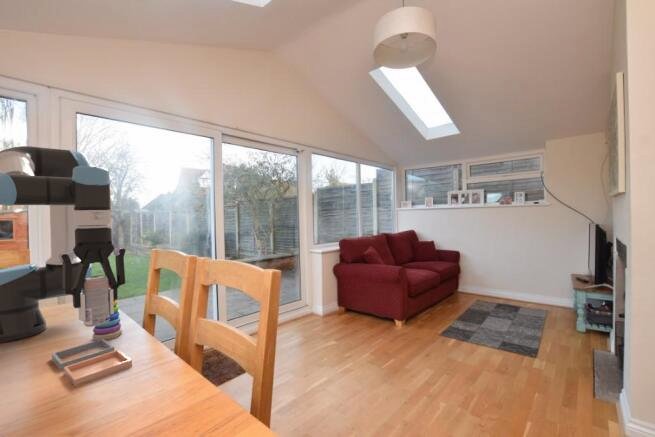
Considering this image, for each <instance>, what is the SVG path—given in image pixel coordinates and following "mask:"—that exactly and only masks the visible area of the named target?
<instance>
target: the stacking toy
mask: <svg viewBox="0 0 655 437" xmlns="http://www.w3.org/2000/svg"><path fill="white" fill-rule="evenodd" d="M108 284H109V283H108ZM109 288H110V286H109ZM119 309H120V308H119V306H118V300H114V314H110V320H109V321H108V322H107V323H105V324H102V325H99V326H93V328H92V332H93V334H92V339H93V340H94V341H96V340H100V339H104V340H105V341H107V340H111V339H114V338H115V339H116V338H117V337H119V336H121V335H122V333H123V330H122V328H121V327H122V324H121V323H120V322H121V318H120V312H119Z"/></svg>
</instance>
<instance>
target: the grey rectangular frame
mask: <svg viewBox="0 0 655 437" xmlns="http://www.w3.org/2000/svg"><path fill="white" fill-rule="evenodd" d="M101 346H102V347H103V348H104V349H102V350H101V349H100V350H98V351H94V352H91V353H87V354H86V355H81V356H78V357H75V358H72V359H69V360H66V361H63V360H61V359H62V358H65V357H68V356H71V355H75V354H79V353H81V352H84V351H88V350H91V349H95V348H98V347H101ZM112 351H115V346H113V344H111V343H110V342H109V341H107V340H104V339H100V340H94V341H90V342H87V343H82V344H79V345H76V346H73V347H69V348H66V349H62V350H58V351H55V352H52V353H51V361H53V363H54V365H55V366H57V368H58V369H59V370H60V371H64V367H66V366H69V365H72V364H75V363H78V362H81V361H85V360H88V359H91V358H94V357H97V356H100V355H103V354H106V353H109V352H112Z"/></svg>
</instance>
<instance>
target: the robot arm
mask: <svg viewBox="0 0 655 437" xmlns="http://www.w3.org/2000/svg"><path fill="white" fill-rule="evenodd" d="M0 206H8V207H10V206H49V221H50V222H49V223H50V224H49V225H50V257H49V258H48V259H47V260H45V266H42V267H39V265H38V264H37V263H29V264H21V265H15V266H14V265H13V266H11V267H10V266H9V267H6V268H2V269H0V344H1V343H7V342H13V341H17V340H22V339H25V338H29V337H32V336H35V335H38V334H41V333H42V332H44V331H45V330H46V329H47V320H46V319H45V317H44V315H43V313H42V311H41V309H40V306H39V305H40V303H39V301H41V300H48V299H54V298H60V297H66V296H67V297H68V296H72V306H73V308H75V309H78V320H80V321H81V322H84V321H85V320H86V315H85V294H83V290H82V287H83V284H84V281H85V278H86V277H91V276H93V265H92V264H95V263H98V264H99V263H100V265H101V267H102V270H103V272H104V275H106V276H107V277H108V283H109V286H110V288H109V312H110V314H114V300H116V301H118V297H119V296H118V289H119V287H121V286H122V285H125V284H126V273H125V272H126V271H125V261H124V260H125V258H124V257H125V253H126V251H127V250H126V248H122V247H115V246H114V244H113V241H112V239H113V234H112V228H111V227H109V226H110V225H112V213H111V211H112V210H111V209H112V208H111V179H110V171H109V170H108V169H107V168H105V167H100V166H93V165H91V166H90V162H89V160H88V158H87V156H86V154H84V153H83V152H81V151H77V150H71V149H58V148H51V147H50V148H49V147H40V146H39V147H38V146H30V145H29V146H28V145H24V146H22V145H21V146H20V145H19V146H14V147H8V148H5V149H3V150H0ZM112 253H113V255H114V256H115V258H114V259H115V260H114V262H115V272H116V277H115V274H114V272H113V269H112V267H111V264H110V260H109V257H110V256H111V254H112Z"/></svg>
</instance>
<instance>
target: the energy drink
mask: <svg viewBox="0 0 655 437" xmlns="http://www.w3.org/2000/svg"><path fill="white" fill-rule="evenodd" d="M82 290H83V294H85V315H86V320H85V321H83V325H84V326H85V327H88V328H89V327H90V328H91V327H95V326H99V325H102V324H105V323H107V322H108V321H109V320H110V312H109V284H108V277H107V276H106V275H105V274H102V275H92V276H91V277H86V278H85V281H84V284H83V287H82Z"/></svg>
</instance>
